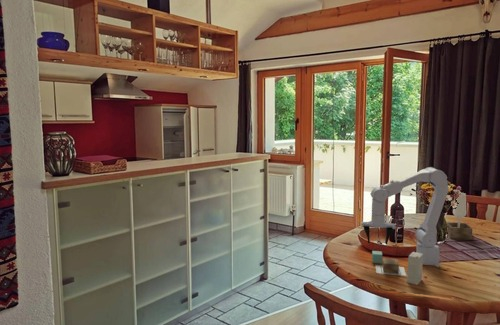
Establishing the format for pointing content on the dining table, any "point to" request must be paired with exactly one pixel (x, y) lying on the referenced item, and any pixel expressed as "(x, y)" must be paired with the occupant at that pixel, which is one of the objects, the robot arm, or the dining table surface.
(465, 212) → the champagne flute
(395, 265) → the walnut block
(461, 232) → the olive brown open box
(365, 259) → the dining table surface
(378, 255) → the teal block
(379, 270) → the grey flat slab
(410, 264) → the skincare box
